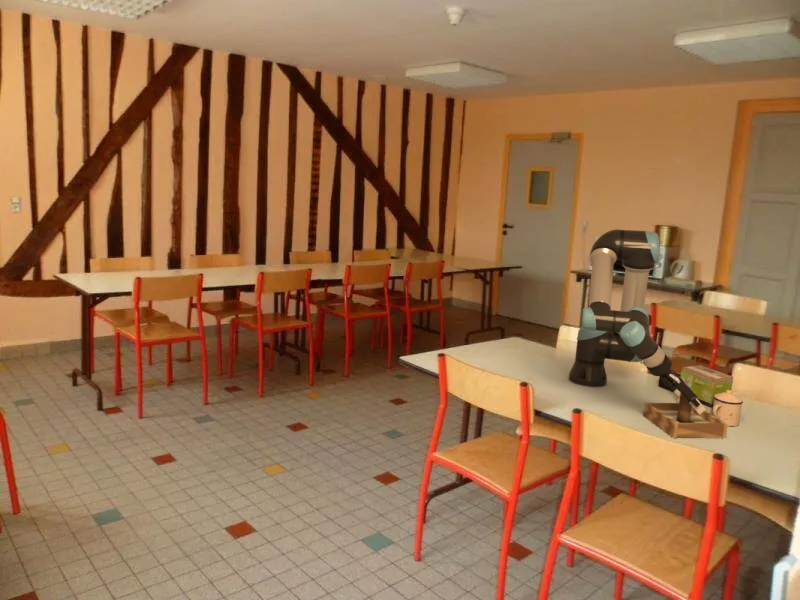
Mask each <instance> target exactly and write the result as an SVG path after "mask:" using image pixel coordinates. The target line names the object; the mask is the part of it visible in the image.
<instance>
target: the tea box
mask: <svg viewBox="0 0 800 600" xmlns="http://www.w3.org/2000/svg"><path fill="white" fill-rule="evenodd" d="M680 374H681V377H680V378H681V379H682V380H683V381H684V383H685V384H686V385H687V386H688V387H689V388H690V389H691V390H692V391H693V393H694V394H695V395H697V399H698V400H699V402H700V403H701V404H702V405H703V406H704V408H705V411H707V412H708V413H710V414H711V415H712V410H713V403H714V395H715V394H718V393H723V392H726V390H731V391H732V389H733V388H732V387H733V383H734V382H733V381H734V376H732V375H730V374H727V373H724V372H721V371H718V370H715V369H712V368H710V367H707V366H704V365H702V364H697V365H691V366H682V367H681V370H680ZM679 400H680V399H679V398H678V397H677V400H676V401H677V402H676V403H679Z"/></svg>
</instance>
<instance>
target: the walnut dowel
mask: <svg viewBox="0 0 800 600" xmlns="http://www.w3.org/2000/svg"><path fill="white" fill-rule="evenodd" d="M691 409H692V406H691V405H690V403H687V399H686V398H685V397H684V396H683V395H682V394H681V393H680V400H679V407H678V415H677V421H678V422H679V423H690V416H691Z"/></svg>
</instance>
